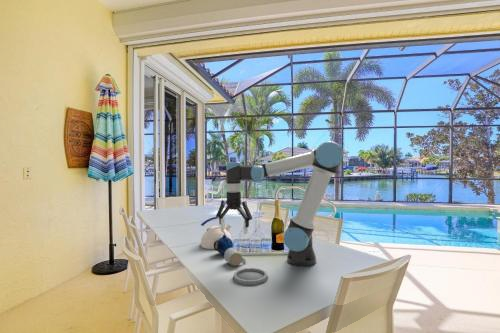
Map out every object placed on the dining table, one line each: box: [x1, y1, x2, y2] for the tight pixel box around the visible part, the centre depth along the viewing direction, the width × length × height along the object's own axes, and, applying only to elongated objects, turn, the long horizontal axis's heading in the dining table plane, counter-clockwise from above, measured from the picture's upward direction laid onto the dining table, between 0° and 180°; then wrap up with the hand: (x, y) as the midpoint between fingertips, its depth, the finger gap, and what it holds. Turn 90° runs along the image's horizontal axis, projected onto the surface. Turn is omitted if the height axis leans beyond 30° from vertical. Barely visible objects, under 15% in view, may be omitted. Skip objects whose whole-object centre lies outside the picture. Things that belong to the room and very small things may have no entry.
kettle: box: [200, 216, 233, 250], centre depth 180 cm, size 20×21×18 cm
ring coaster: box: [232, 267, 269, 286], centre depth 127 cm, size 16×16×2 cm
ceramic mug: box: [223, 247, 247, 267], centre depth 145 cm, size 11×8×8 cm
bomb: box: [213, 231, 234, 255], centre depth 160 cm, size 10×11×15 cm
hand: (233, 232), depth 145 cm, fingers open, 13 cm apart
